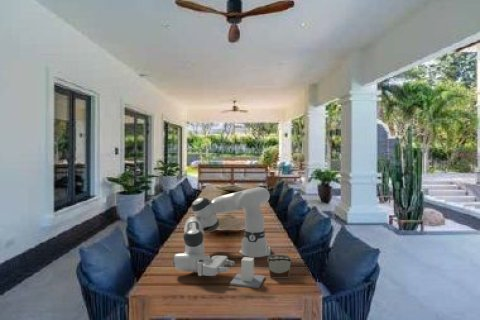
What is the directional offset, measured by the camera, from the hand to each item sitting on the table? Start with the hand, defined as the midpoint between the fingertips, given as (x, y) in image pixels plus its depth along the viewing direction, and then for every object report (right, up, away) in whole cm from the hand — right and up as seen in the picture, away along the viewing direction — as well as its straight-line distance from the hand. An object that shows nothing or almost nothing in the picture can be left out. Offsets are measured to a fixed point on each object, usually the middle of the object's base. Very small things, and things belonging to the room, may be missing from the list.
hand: (231, 266), depth 201 cm
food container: (+24, -7, +7) cm, 26 cm away
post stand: (+8, -7, -1) cm, 11 cm away
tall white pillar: (+8, -6, -1) cm, 10 cm away
